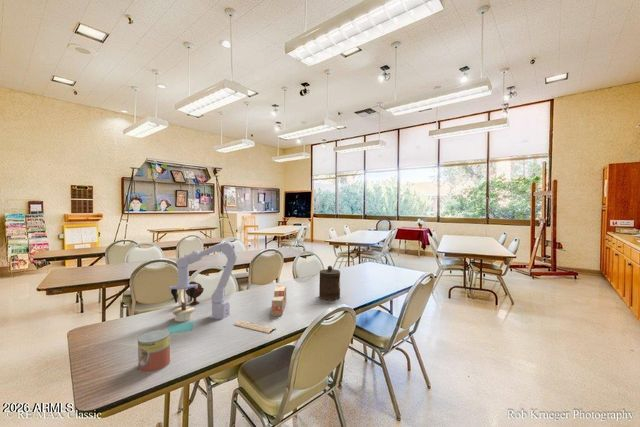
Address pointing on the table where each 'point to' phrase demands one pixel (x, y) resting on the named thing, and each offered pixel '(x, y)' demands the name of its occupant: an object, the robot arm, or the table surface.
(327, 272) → the wooden container
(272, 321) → the table surface
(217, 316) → the robot arm
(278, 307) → the stack of blocks
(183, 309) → the cover
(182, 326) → the mat
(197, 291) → the ice cream bowl
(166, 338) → the canned food
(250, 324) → the tan wooden plank
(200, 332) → the table surface
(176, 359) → the table surface
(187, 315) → the bowl
